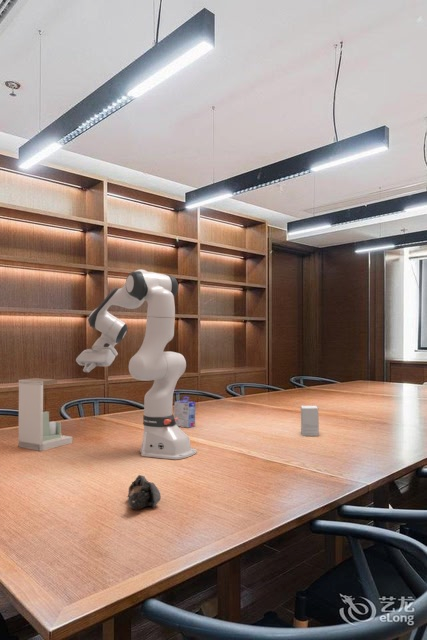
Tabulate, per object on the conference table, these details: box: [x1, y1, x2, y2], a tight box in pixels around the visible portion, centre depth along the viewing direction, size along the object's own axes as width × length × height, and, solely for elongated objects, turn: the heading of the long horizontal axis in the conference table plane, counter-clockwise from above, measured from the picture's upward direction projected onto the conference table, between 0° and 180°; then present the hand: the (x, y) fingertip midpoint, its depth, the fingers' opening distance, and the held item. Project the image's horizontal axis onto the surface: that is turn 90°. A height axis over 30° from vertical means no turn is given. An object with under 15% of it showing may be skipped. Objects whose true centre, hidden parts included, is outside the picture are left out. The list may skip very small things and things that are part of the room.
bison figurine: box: [127, 474, 161, 510], centre depth 125 cm, size 12×7×10 cm
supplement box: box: [300, 405, 320, 437], centre depth 210 cm, size 7×7×13 cm
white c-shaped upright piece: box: [18, 377, 73, 452], centre depth 194 cm, size 14×16×28 cm
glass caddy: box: [43, 410, 62, 441], centre depth 193 cm, size 6×12×11 cm, turn 147°
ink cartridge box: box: [173, 395, 196, 429], centre depth 231 cm, size 10×6×14 cm, turn 53°
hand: (85, 371), depth 210 cm, fingers closed
